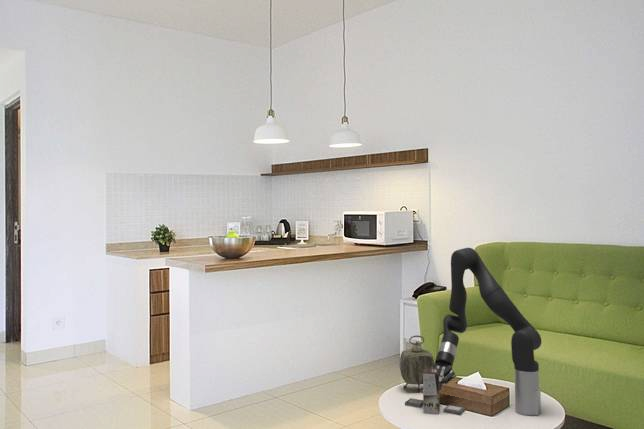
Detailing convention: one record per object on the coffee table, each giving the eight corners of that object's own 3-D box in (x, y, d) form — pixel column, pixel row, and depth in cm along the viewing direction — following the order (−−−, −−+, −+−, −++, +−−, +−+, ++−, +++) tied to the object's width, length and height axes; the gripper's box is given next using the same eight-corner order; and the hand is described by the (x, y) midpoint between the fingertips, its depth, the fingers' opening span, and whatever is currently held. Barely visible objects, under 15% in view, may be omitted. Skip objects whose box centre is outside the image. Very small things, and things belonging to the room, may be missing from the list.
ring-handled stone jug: (431, 386, 258) (429, 333, 258) (436, 392, 249) (435, 337, 249) (400, 387, 257) (399, 334, 257) (404, 394, 248) (403, 338, 248)
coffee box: (439, 414, 222) (438, 374, 222) (423, 413, 224) (422, 373, 224) (440, 406, 231) (439, 367, 231) (424, 405, 233) (423, 367, 233)
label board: (465, 410, 226) (465, 407, 226) (460, 415, 221) (460, 411, 221) (410, 401, 239) (410, 397, 239) (404, 405, 234) (404, 401, 234)
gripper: (429, 348, 244) (418, 383, 234) (458, 352, 237) (448, 388, 226) (434, 357, 248) (424, 392, 238) (463, 361, 241) (453, 397, 231)
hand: (436, 390), depth 232 cm, fingers closed
